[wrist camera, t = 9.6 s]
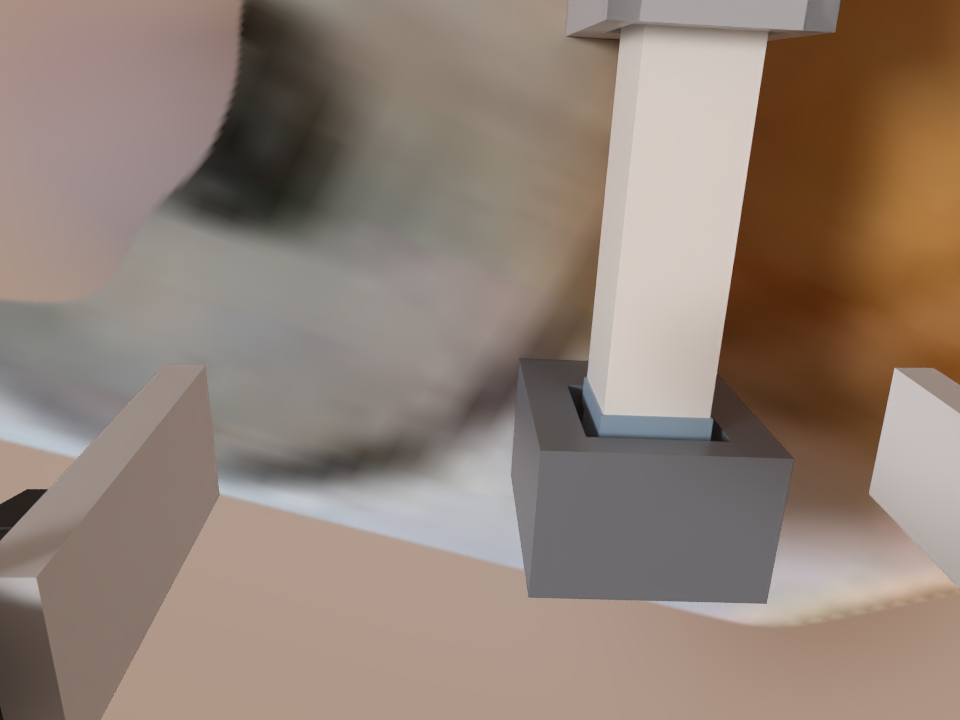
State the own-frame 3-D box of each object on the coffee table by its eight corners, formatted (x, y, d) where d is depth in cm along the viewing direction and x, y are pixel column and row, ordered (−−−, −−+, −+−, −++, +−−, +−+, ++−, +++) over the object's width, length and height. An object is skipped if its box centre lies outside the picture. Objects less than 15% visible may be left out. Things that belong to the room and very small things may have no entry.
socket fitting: (519, 358, 38) (540, 450, 28) (710, 365, 38) (794, 459, 29) (511, 475, 40) (528, 597, 30) (693, 481, 40) (766, 603, 31)
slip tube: (624, -44, 29) (651, -64, 25) (741, -37, 29) (786, -56, 25) (577, 444, 35) (593, 490, 31) (674, 447, 35) (702, 494, 31)
